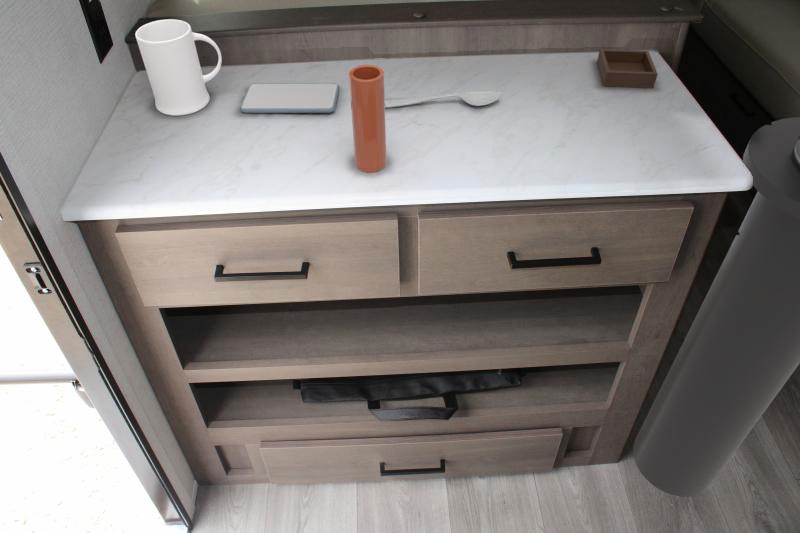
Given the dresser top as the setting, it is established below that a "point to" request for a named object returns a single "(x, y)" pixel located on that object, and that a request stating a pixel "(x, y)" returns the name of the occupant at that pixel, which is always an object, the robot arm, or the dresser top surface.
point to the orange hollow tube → (368, 117)
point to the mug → (175, 66)
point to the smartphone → (290, 98)
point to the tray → (626, 68)
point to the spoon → (469, 97)
